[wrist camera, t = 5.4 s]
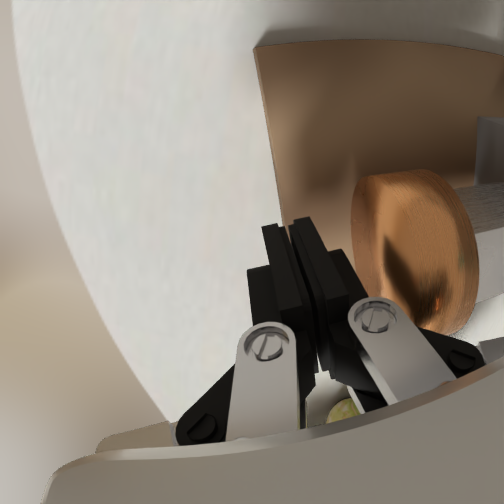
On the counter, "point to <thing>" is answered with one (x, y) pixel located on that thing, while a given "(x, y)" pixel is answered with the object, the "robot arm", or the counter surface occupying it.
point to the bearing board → (376, 121)
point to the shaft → (429, 245)
